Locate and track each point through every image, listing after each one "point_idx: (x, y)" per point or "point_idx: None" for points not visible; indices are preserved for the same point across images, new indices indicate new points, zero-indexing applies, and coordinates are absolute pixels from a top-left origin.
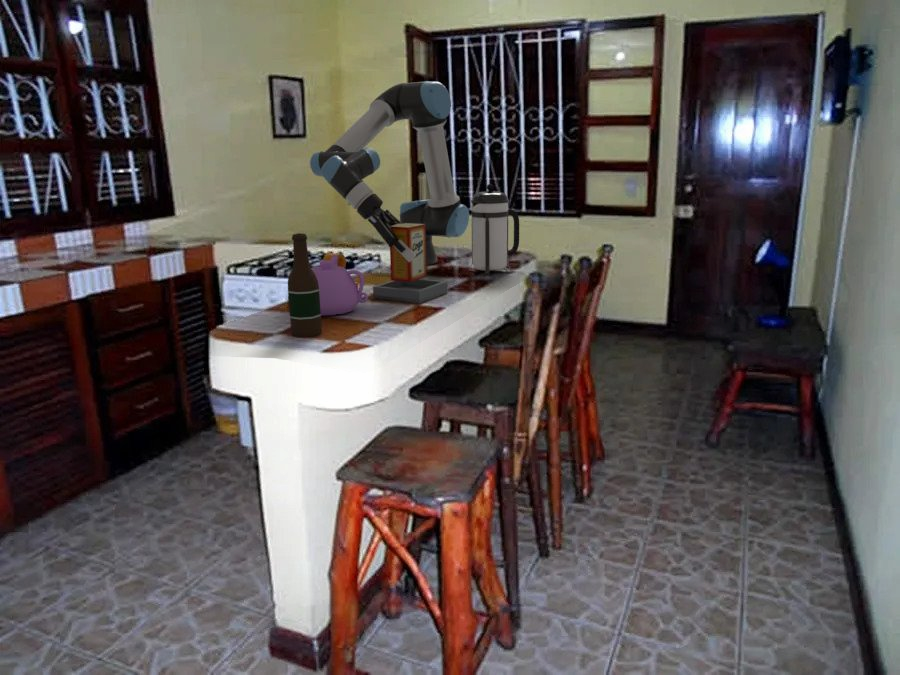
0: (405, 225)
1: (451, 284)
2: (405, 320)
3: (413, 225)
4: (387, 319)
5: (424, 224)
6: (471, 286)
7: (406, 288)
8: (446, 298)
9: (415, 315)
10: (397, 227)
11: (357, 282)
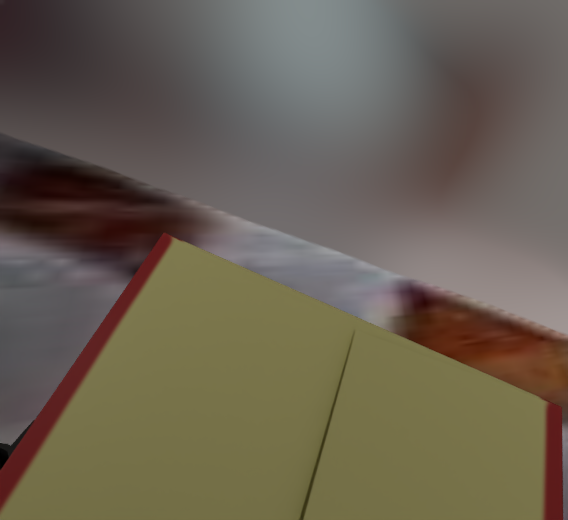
0: (404, 508)
1: (56, 274)
2: (554, 372)
3: (395, 365)
4: (565, 429)
5: (187, 243)
6: (110, 212)
7: None
8: (288, 281)
9: (499, 352)
10: None
11: None
